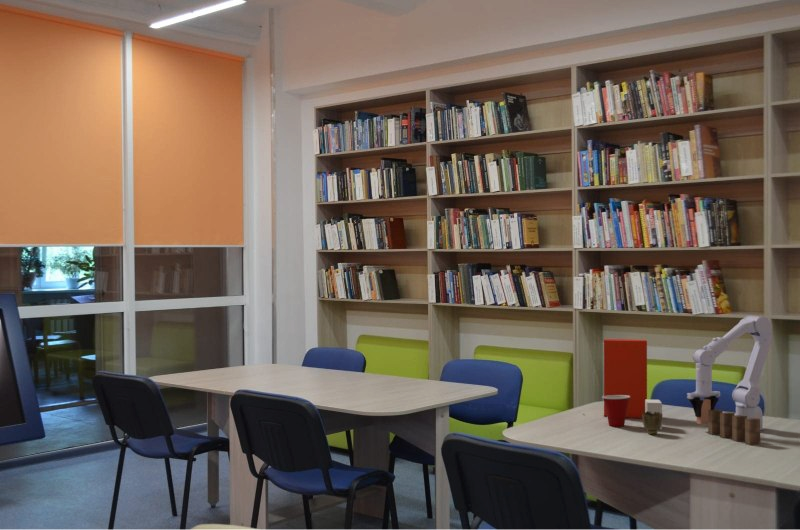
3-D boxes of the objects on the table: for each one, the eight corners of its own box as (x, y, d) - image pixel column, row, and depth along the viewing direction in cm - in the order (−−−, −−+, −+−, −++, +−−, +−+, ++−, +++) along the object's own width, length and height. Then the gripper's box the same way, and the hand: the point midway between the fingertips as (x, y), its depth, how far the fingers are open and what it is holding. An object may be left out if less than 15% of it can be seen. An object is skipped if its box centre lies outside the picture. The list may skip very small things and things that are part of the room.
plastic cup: (615, 421, 328) (615, 392, 327) (636, 426, 318) (636, 396, 318) (596, 424, 322) (596, 394, 322) (616, 429, 313) (616, 398, 312)
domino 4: (742, 439, 295) (742, 414, 295) (747, 440, 293) (747, 415, 293) (732, 440, 293) (732, 415, 293) (736, 441, 291) (736, 416, 291)
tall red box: (604, 413, 346) (604, 338, 346) (646, 415, 342) (646, 339, 341) (604, 416, 338) (603, 340, 338) (647, 418, 334) (646, 341, 334)
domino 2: (718, 432, 306) (718, 409, 306) (722, 433, 304) (722, 410, 304) (708, 433, 304) (708, 410, 304) (712, 435, 302) (712, 411, 302)
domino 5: (755, 442, 290) (755, 417, 289) (760, 443, 288) (760, 418, 288) (745, 444, 288) (745, 418, 288) (749, 445, 286) (749, 419, 286)
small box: (662, 430, 311) (662, 403, 311) (647, 429, 312) (647, 402, 312) (659, 426, 319) (659, 399, 319) (645, 425, 320) (645, 399, 320)
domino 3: (730, 436, 301) (730, 411, 301) (734, 437, 299) (734, 412, 299) (720, 437, 299) (720, 412, 299) (724, 438, 297) (724, 413, 297)
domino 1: (706, 422, 312) (706, 398, 312) (710, 423, 310) (710, 399, 310) (696, 423, 310) (696, 399, 310) (700, 424, 308) (700, 400, 308)
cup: (663, 432, 306) (663, 411, 306) (661, 436, 300) (661, 415, 299) (643, 431, 309) (643, 410, 309) (640, 435, 303) (640, 413, 303)
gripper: (711, 378, 316) (710, 413, 316) (681, 380, 311) (681, 415, 311) (724, 381, 310) (724, 416, 310) (694, 383, 304) (694, 419, 304)
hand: (703, 416), depth 310 cm, fingers closed on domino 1, 5 cm apart
